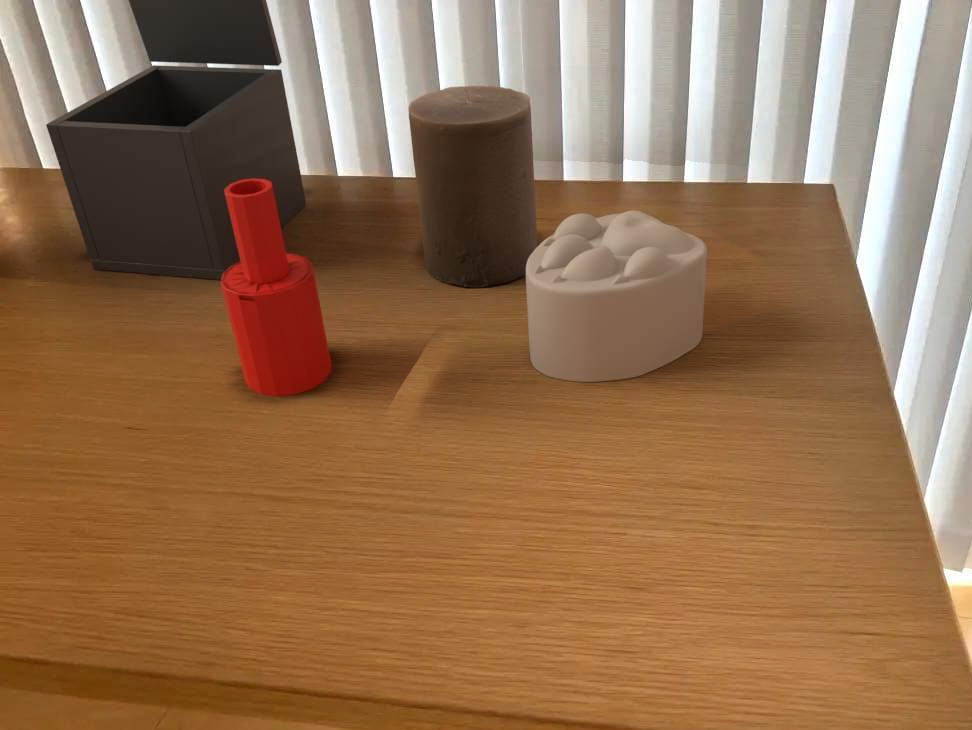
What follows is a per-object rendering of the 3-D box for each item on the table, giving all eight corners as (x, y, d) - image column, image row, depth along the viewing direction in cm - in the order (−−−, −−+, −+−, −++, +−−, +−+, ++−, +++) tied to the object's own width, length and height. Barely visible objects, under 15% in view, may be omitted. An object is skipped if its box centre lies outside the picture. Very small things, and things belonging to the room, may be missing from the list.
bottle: (234, 405, 70) (181, 203, 61) (272, 360, 74) (228, 167, 66) (312, 414, 68) (270, 209, 60) (346, 368, 73) (311, 171, 64)
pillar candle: (455, 299, 81) (437, 116, 72) (408, 254, 88) (386, 82, 79) (560, 268, 85) (554, 90, 76) (506, 227, 92) (495, 60, 83)
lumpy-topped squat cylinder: (721, 337, 74) (729, 229, 70) (586, 403, 68) (584, 290, 63) (627, 287, 81) (628, 186, 76) (497, 343, 75) (489, 237, 70)
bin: (227, 281, 85) (190, 131, 78) (93, 269, 88) (45, 124, 81) (306, 204, 98) (281, 69, 90) (186, 196, 101) (153, 64, 93)
